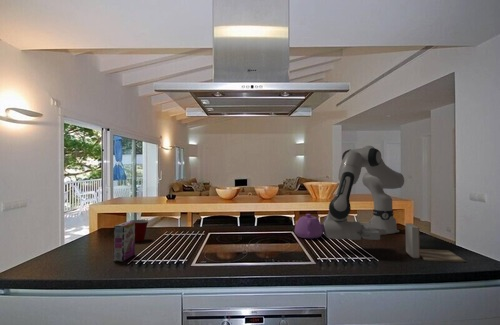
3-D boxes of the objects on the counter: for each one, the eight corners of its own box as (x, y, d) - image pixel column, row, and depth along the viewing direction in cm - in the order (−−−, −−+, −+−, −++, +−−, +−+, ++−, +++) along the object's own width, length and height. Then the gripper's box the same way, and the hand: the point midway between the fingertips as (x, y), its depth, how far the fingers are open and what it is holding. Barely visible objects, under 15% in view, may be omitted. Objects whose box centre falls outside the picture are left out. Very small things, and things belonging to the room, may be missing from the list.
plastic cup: (152, 240, 170) (152, 219, 170) (135, 243, 161) (135, 222, 162) (142, 237, 176) (142, 218, 177) (126, 241, 168) (126, 220, 168)
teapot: (333, 241, 162) (332, 217, 162) (294, 240, 165) (294, 216, 165) (328, 233, 183) (328, 211, 184) (294, 232, 187) (294, 211, 187)
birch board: (412, 250, 144) (412, 248, 144) (448, 251, 140) (448, 250, 140) (424, 260, 128) (424, 258, 128) (465, 262, 125) (465, 260, 125)
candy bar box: (123, 262, 130) (123, 226, 130) (113, 261, 130) (113, 225, 131) (135, 254, 141) (135, 221, 141) (125, 254, 142) (125, 221, 142)
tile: (405, 251, 142) (405, 223, 142) (412, 251, 141) (412, 223, 141) (412, 257, 132) (412, 227, 132) (419, 258, 131) (419, 227, 132)
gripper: (359, 228, 132) (391, 230, 129) (353, 220, 152) (381, 221, 149) (359, 242, 132) (391, 244, 129) (353, 232, 152) (381, 233, 149)
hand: (386, 231), depth 139 cm, fingers closed
